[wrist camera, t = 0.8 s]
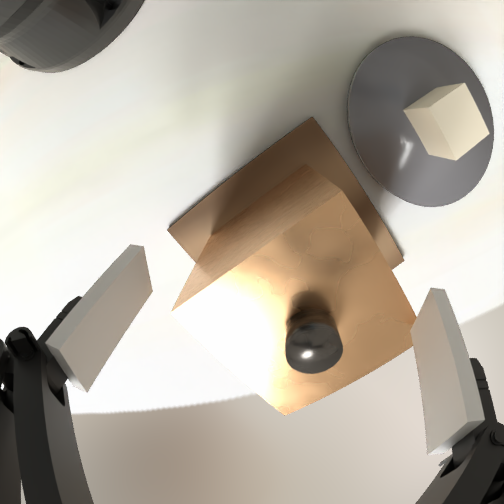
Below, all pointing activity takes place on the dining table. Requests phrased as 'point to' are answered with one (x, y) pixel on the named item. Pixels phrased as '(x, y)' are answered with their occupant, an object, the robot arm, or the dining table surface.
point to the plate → (400, 128)
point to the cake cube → (447, 121)
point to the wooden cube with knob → (296, 295)
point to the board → (271, 174)
